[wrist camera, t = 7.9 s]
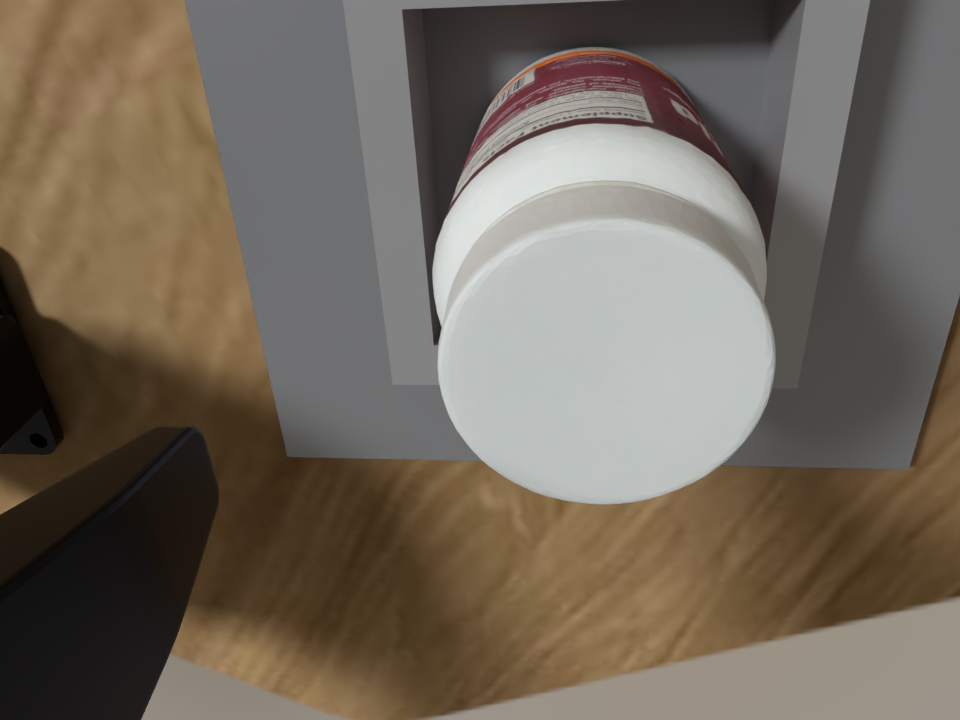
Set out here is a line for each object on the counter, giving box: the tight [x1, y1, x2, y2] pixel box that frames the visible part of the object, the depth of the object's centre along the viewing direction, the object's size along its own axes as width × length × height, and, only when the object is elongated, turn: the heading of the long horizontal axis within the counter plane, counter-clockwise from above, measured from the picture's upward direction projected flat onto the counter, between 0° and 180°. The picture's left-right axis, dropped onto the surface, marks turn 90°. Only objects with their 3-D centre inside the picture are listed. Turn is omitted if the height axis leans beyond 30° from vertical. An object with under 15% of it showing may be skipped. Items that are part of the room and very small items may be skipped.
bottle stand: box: [185, 0, 960, 470], centre depth 16 cm, size 16×16×3 cm
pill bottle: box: [432, 47, 776, 504], centre depth 13 cm, size 5×5×8 cm
